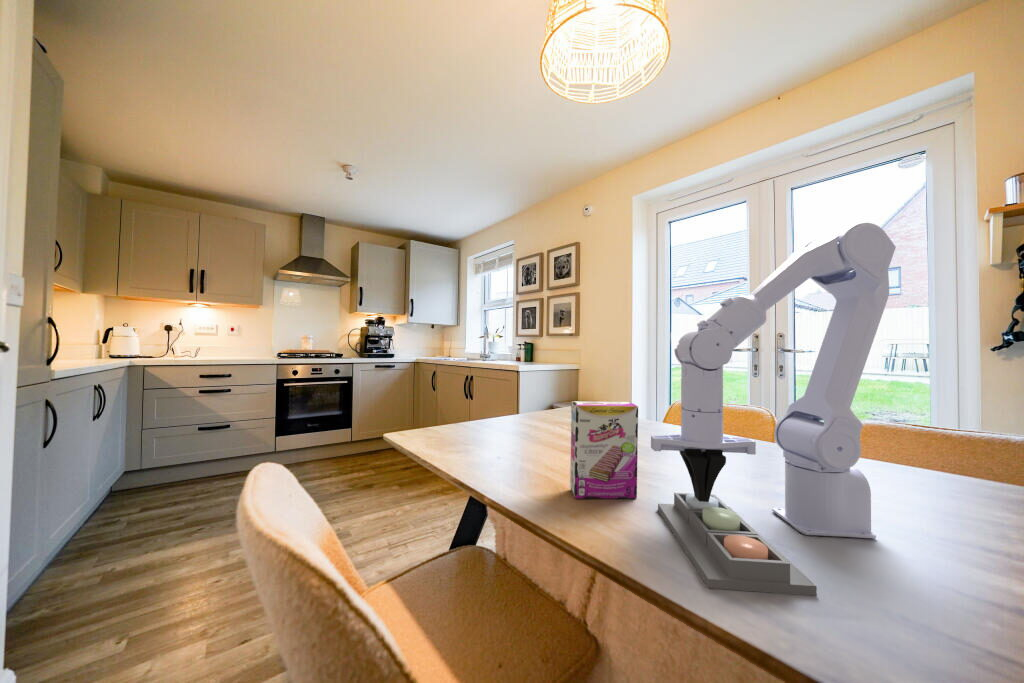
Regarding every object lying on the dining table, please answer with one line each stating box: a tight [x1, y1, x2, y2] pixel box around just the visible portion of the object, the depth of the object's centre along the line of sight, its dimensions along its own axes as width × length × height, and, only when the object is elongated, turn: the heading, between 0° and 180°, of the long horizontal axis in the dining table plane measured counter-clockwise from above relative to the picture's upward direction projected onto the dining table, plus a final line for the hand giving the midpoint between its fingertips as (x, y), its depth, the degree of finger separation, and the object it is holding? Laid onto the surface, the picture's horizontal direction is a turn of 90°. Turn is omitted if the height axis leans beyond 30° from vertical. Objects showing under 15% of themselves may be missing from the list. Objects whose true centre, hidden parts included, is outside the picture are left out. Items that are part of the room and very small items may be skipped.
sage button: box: [703, 507, 741, 531], centre depth 51 cm, size 4×4×2 cm
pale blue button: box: [686, 492, 718, 509], centre depth 57 cm, size 4×4×2 cm
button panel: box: [657, 492, 818, 596], centre depth 51 cm, size 11×20×3 cm, turn 174°
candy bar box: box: [569, 400, 639, 499], centre depth 68 cm, size 11×5×16 cm, turn 92°
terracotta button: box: [724, 535, 768, 560], centre depth 44 cm, size 4×4×2 cm
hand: (701, 499), depth 57 cm, fingers closed, pressing on pale blue button
